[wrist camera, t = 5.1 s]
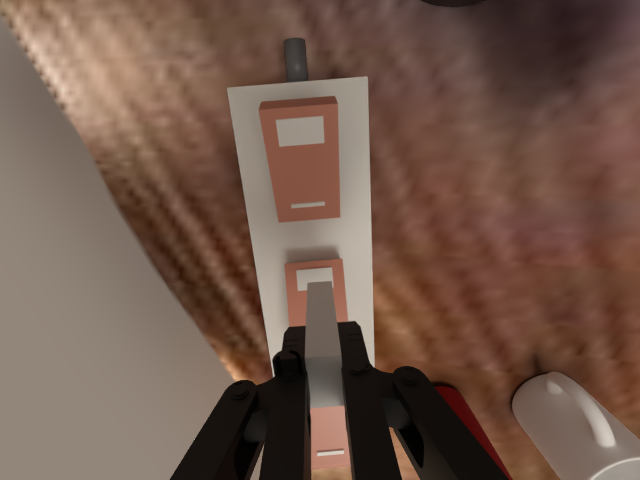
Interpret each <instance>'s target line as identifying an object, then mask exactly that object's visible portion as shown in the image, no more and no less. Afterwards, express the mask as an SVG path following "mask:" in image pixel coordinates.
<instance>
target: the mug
mask: <svg viewBox="0 0 640 480" xmlns="http://www.w3.org/2000/svg"><path fill="white" fill-rule="evenodd" d="M512 410H513V414H514V416H515V417H516V419H517V421H518V422H519V424H520V425H521V427H522V428H523V429H524V431H525V432H526V433H527V435H528V436H529V437H530V439H531V440H532V441H533V443H534V444H535V446H536V447H537V448H538V450H539V451H540V452H541V454H542V455H543V456H544V458H545V459H546V460H547V462H548V463H549V464H550V466H551V467H552V468H553V470H554V471H555V473H556V474H557V475H558V477H559V478H560V479H561V480H640V440H639V439H638V438H637V437H636V436H635V435H634V434H633V433H632V432H630V431H629V430H628V429H627V428H626V427H625V426H624V425H623V424H622V423H621V422H619V421H618V420H617V419H616V418H615V417H614V416H613V415H612V414H611V413H610V412H608V411H607V410H606V409H605V408H604V407H603V406H602V405H601V404H600V403H599V402H597V401H596V400H595V399H594V398H593V397H592V396H591V395H590V394H589V393H588V392H586V391H585V390H584V389H583V388H582V387H581V386H580V385H579V384H577V383H576V382H575V381H573V380H572V379H570V378H569V377H567V376H565V375H564V374H562V373H559V372H550V373H548V374H543V375H539V376H536V377H534V378H532V379H530V380H528V381H527V382H525V383H524V384H523V385H522V386H521V387H520V388H519V389H518V390H517V391H516V393H515V395H514V397H513V401H512Z"/></svg>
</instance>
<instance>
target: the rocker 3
mask: <svg viewBox="0 0 640 480" xmlns="http://www.w3.org/2000/svg"><path fill="white" fill-rule="evenodd" d="M310 413H311V470H314V469H325V468H336V467H346V466H351V464H350V455H349V446H348V437H347V430H346V422H345V407H344V406H334V407H321V408H311V407H310Z"/></svg>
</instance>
